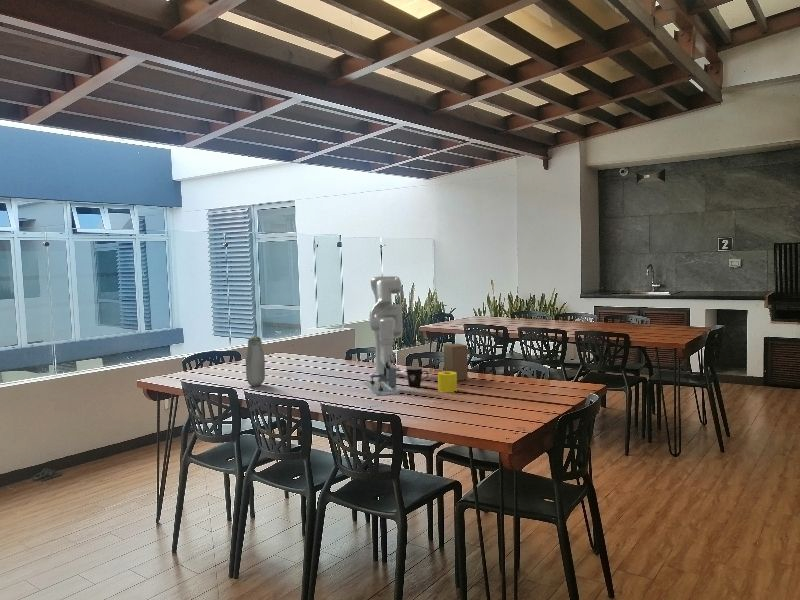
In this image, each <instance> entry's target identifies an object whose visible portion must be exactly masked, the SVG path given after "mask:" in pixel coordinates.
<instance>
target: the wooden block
mask: <svg viewBox="0 0 800 600" xmlns="http://www.w3.org/2000/svg"><path fill="white" fill-rule="evenodd" d="M443 371H451V372H456V373H457V380H463V381H465V380H464V379H467V380H468V378H469V376H468V345H467V344H462V343H449V344H443Z"/></svg>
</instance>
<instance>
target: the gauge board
mask: <svg viewBox="0 0 800 600" xmlns="http://www.w3.org/2000/svg"><path fill="white" fill-rule="evenodd" d="M369 377H370V381H363V385H364V386H365V387H366V386H367V387H368V388H367V387H366V388H367V389H368V390H370V391H371V392H372V393H373V394H374V395H375V394H376V395H375V396H377V397H378V396H387V395H388V396H389V394H390V395H400V390H399V389H397V388H396V386H393V387H389V386H387V385H386V381H382V382H381V387H379V382H378V379H386V376H385V375H384V374H378V375H374V374H373V375H372V374H370V375H369ZM374 378H377V380H374Z"/></svg>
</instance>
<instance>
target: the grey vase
mask: <svg viewBox="0 0 800 600" xmlns="http://www.w3.org/2000/svg"><path fill="white" fill-rule="evenodd" d="M262 343H263V342H262V339H261V337H260V336H257V335H254V336H253V335H252V336H250V337H249V339H247V349H246V354H245V372H246V373H245V374H246V376H245V377H246V381H247V383H248V384H249V386H252V387H258V386H261V385H262V384H263V383H264V381H265V378H266V371H265V370H266V368H265V367H266V366H265V365H266V361H265V358H266V357H265V354H264V350H263V344H262Z"/></svg>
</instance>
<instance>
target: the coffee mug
mask: <svg viewBox="0 0 800 600" xmlns="http://www.w3.org/2000/svg"><path fill="white" fill-rule="evenodd" d="M424 372H425V373H426V374H427V375H426V377H425V378H423V379H422V374H423V373H424ZM406 375H407V382H408V384H407V385H408V387H409V386H410V387H409V388H419V387H418V386H420V387H421V384H422V381H424V380H426V379H427V378H428V377H429V371H428V370H423V367H421V366H408V367H406Z"/></svg>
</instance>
